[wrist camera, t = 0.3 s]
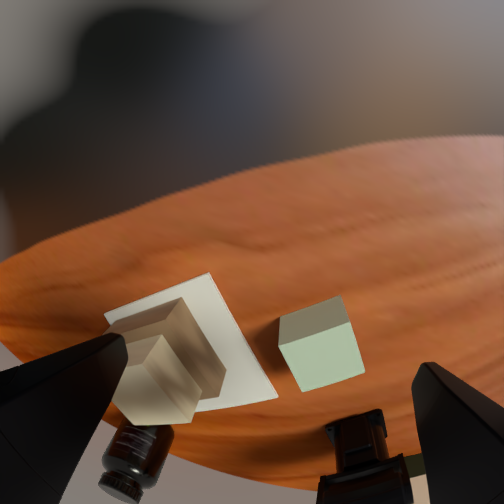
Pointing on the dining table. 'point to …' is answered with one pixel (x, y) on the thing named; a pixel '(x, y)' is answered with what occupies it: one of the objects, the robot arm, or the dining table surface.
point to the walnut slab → (177, 341)
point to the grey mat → (213, 340)
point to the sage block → (320, 344)
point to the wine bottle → (418, 478)
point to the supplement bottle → (135, 459)
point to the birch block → (156, 385)
